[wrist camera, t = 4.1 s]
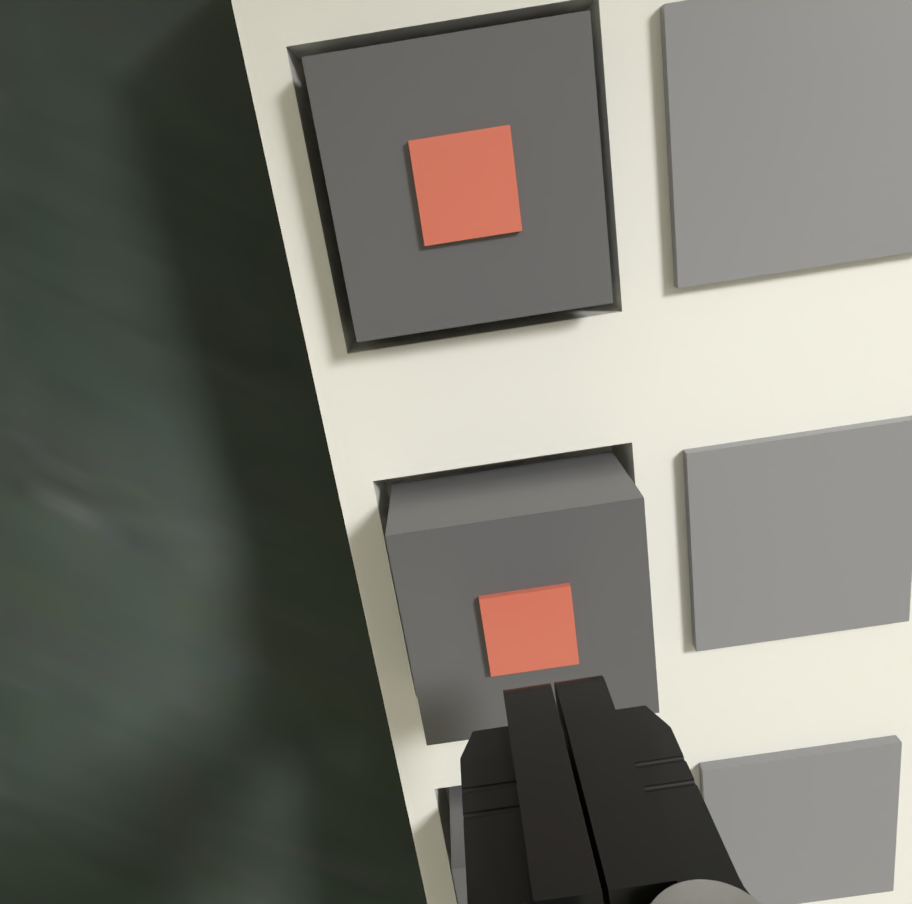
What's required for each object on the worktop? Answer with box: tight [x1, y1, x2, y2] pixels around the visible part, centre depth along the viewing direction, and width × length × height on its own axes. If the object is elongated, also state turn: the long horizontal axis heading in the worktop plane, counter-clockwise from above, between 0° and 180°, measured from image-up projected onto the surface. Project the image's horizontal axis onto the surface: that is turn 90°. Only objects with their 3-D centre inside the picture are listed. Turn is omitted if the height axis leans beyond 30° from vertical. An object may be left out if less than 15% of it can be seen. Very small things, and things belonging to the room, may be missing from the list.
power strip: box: [231, 0, 912, 904], centre depth 17 cm, size 27×12×4 cm, turn 8°
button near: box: [301, 10, 613, 342], centre depth 13 cm, size 4×4×2 cm
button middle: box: [385, 451, 659, 746], centre depth 14 cm, size 4×4×2 cm
